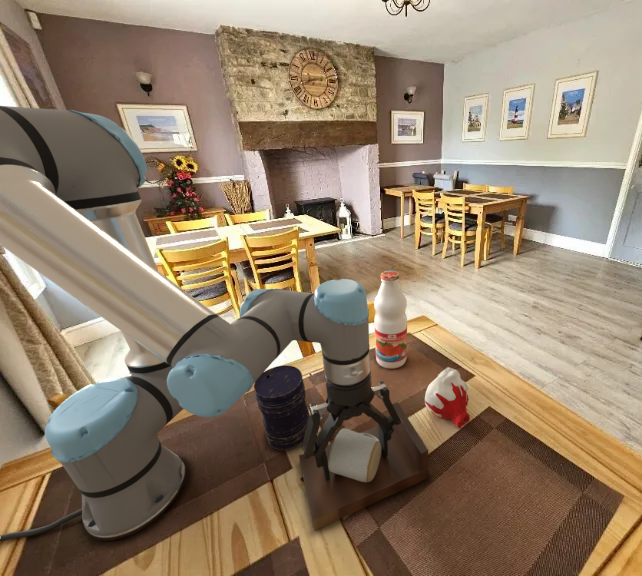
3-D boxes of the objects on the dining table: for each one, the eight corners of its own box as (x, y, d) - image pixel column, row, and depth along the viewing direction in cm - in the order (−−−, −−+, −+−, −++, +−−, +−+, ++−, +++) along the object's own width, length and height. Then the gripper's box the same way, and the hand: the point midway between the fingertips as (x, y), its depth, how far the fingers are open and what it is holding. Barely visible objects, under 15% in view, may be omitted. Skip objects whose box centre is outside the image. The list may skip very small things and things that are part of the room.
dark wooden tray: (314, 530, 52) (307, 501, 49) (300, 465, 63) (295, 437, 60) (427, 478, 60) (428, 450, 57) (398, 428, 71) (397, 401, 68)
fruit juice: (406, 350, 98) (407, 267, 86) (407, 369, 89) (408, 280, 78) (376, 349, 98) (373, 267, 87) (374, 369, 90) (370, 280, 78)
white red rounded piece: (449, 382, 83) (484, 429, 72) (411, 394, 80) (442, 446, 68) (454, 357, 79) (492, 403, 67) (414, 368, 75) (447, 420, 63)
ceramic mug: (371, 494, 55) (369, 464, 51) (328, 481, 57) (325, 451, 54) (388, 444, 64) (387, 416, 61) (351, 434, 66) (349, 407, 63)
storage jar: (320, 422, 73) (312, 372, 67) (292, 457, 65) (280, 403, 59) (286, 409, 77) (276, 360, 71) (257, 440, 69) (242, 389, 63)
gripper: (276, 411, 43) (297, 506, 53) (421, 366, 52) (418, 455, 61) (271, 378, 50) (291, 468, 59) (401, 342, 58) (401, 427, 67)
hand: (355, 462), depth 60 cm, fingers closed on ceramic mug, 11 cm apart
